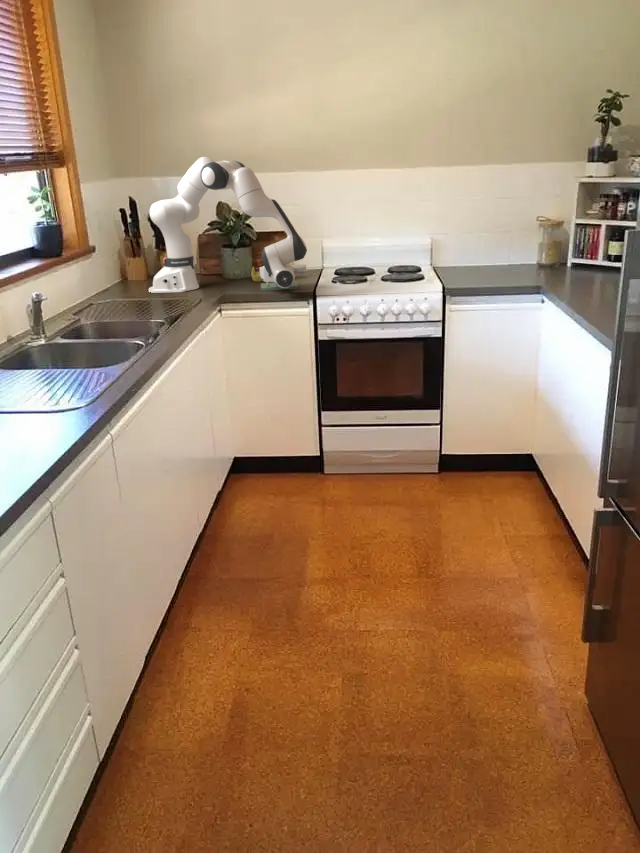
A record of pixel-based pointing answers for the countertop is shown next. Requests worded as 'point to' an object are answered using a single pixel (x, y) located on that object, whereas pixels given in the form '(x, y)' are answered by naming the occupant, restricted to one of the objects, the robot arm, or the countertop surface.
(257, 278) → the plastic component
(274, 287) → the board
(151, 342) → the countertop surface
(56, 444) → the countertop surface
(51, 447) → the countertop surface
